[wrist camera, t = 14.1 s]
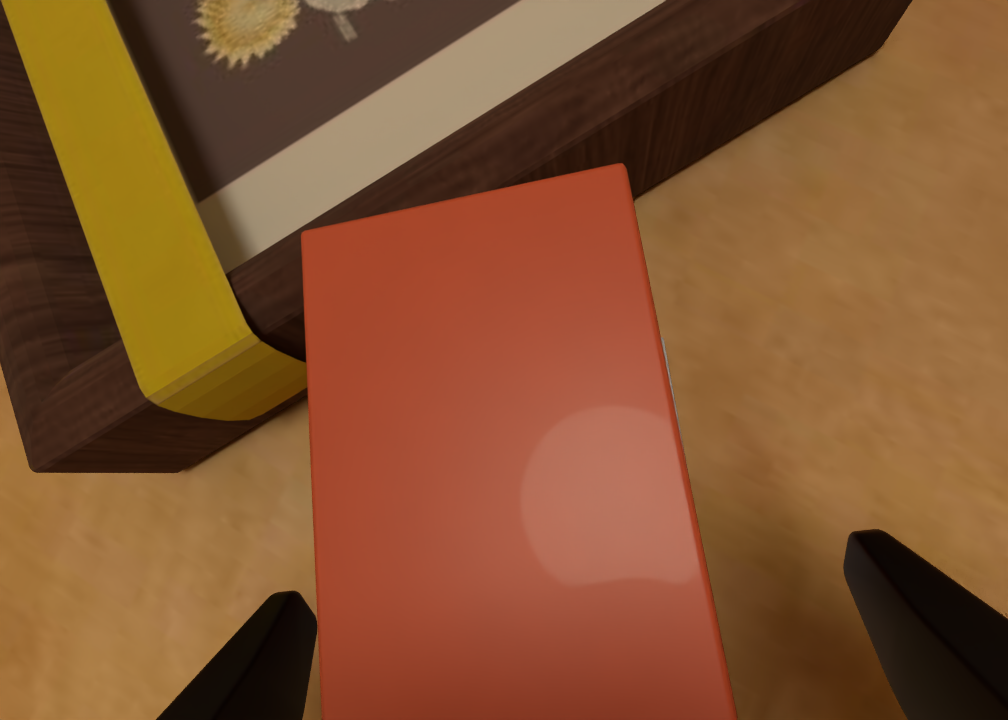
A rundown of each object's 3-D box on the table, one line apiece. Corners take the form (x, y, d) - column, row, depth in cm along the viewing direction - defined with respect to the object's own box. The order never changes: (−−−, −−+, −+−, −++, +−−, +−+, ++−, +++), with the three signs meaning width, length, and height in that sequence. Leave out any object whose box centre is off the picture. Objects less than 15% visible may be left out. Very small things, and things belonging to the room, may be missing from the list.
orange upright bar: (639, 540, 16) (740, 730, 4) (522, 553, 16) (320, 755, 5) (610, 374, 17) (625, 158, 5) (501, 391, 17) (298, 229, 6)
